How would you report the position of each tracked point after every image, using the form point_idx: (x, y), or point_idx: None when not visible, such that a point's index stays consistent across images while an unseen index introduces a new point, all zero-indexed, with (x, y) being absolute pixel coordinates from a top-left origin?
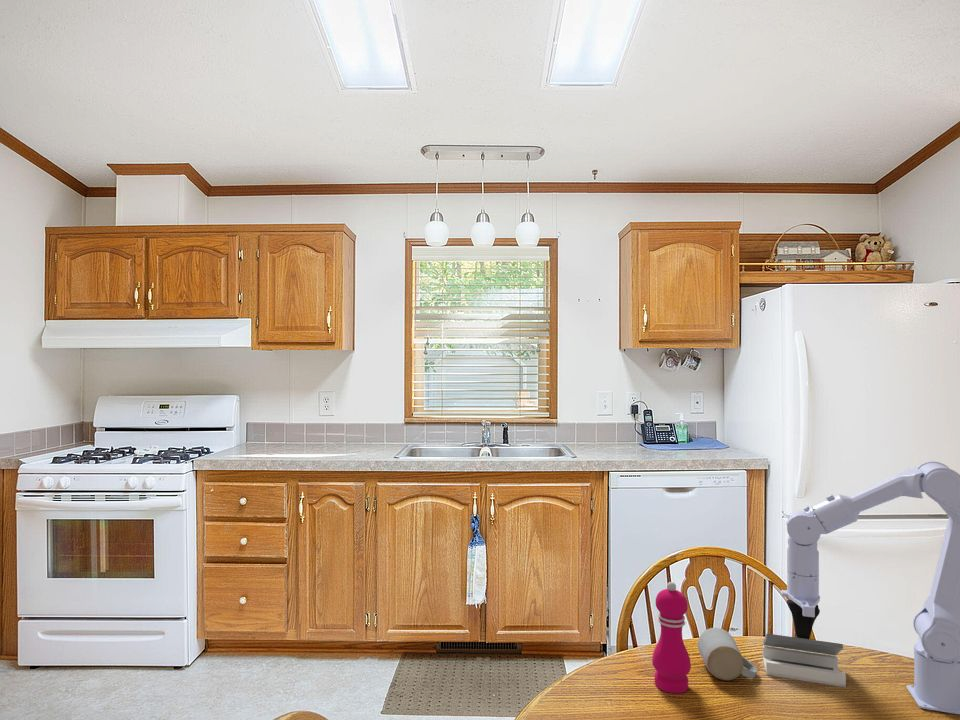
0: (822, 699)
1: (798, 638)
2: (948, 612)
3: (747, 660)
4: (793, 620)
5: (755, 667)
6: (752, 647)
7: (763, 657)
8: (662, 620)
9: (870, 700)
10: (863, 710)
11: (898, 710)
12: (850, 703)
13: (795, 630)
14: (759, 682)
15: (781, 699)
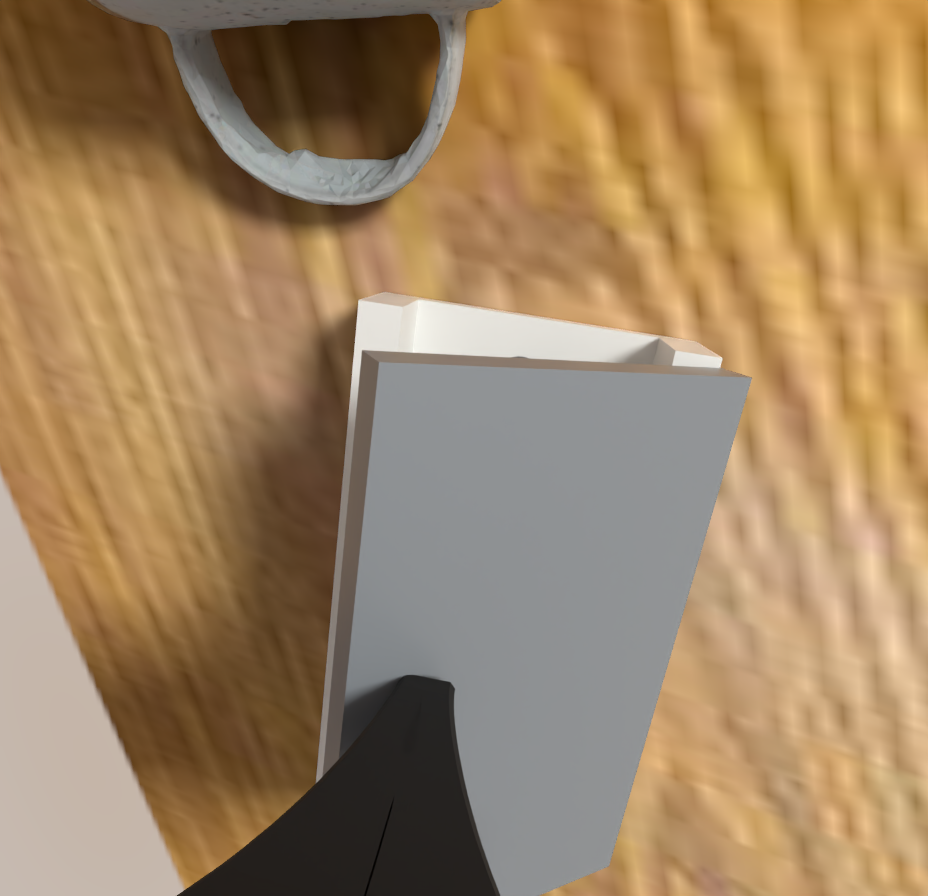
0: (153, 550)
1: (344, 684)
2: None
3: (424, 138)
4: (416, 813)
5: (360, 199)
6: (896, 302)
7: (649, 338)
8: None
9: (232, 778)
10: (111, 705)
11: (174, 848)
12: (162, 675)
13: (373, 723)
14: (248, 203)
15: (57, 300)
